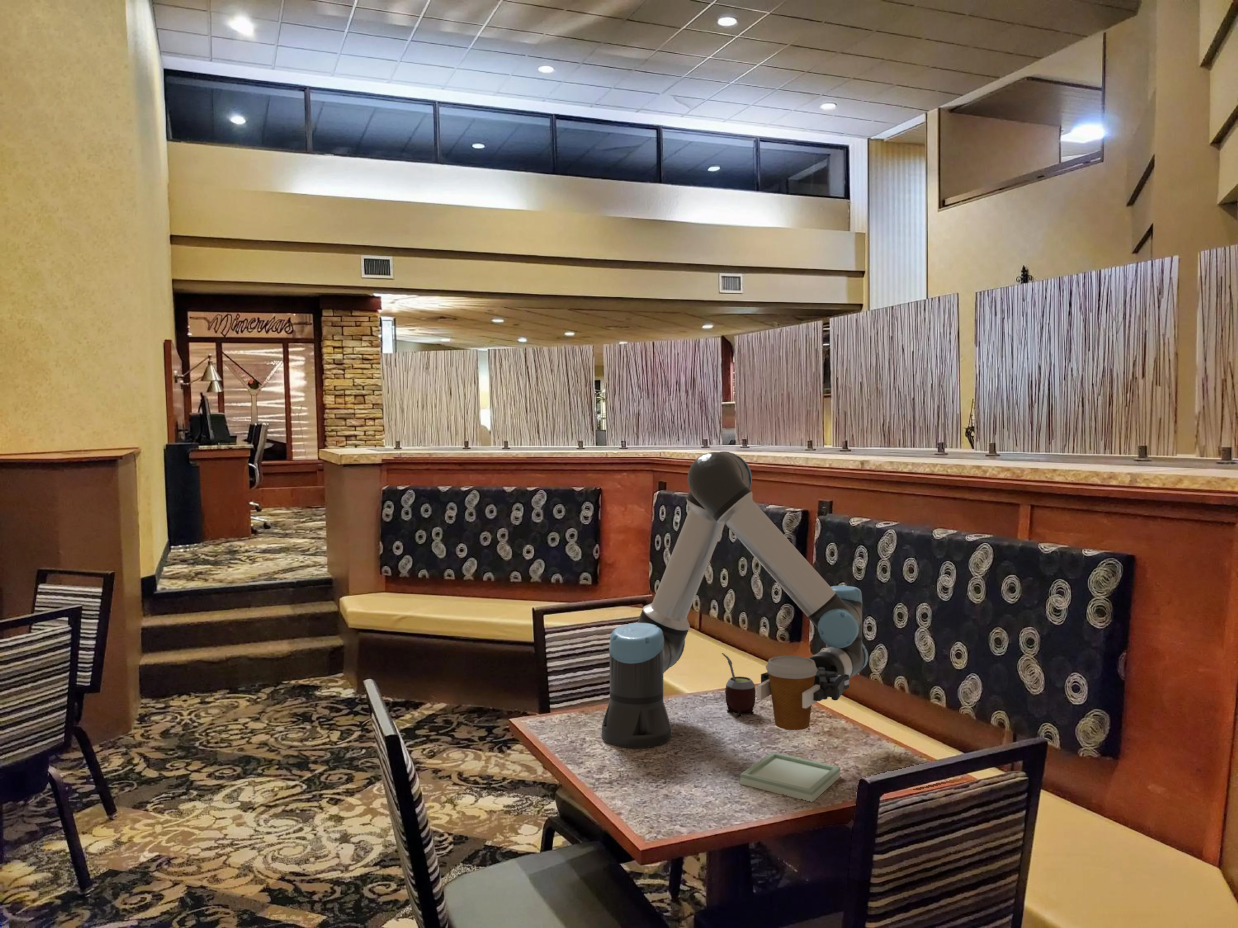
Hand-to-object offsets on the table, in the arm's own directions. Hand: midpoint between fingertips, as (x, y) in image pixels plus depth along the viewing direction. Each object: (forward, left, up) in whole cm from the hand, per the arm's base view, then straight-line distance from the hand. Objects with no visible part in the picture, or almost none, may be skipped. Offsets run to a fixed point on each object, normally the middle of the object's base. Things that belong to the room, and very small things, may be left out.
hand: (781, 696), depth 150 cm
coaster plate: (0, +5, -17) cm, 18 cm away
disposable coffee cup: (0, +5, -7) cm, 8 cm away
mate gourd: (-26, +35, -17) cm, 47 cm away
